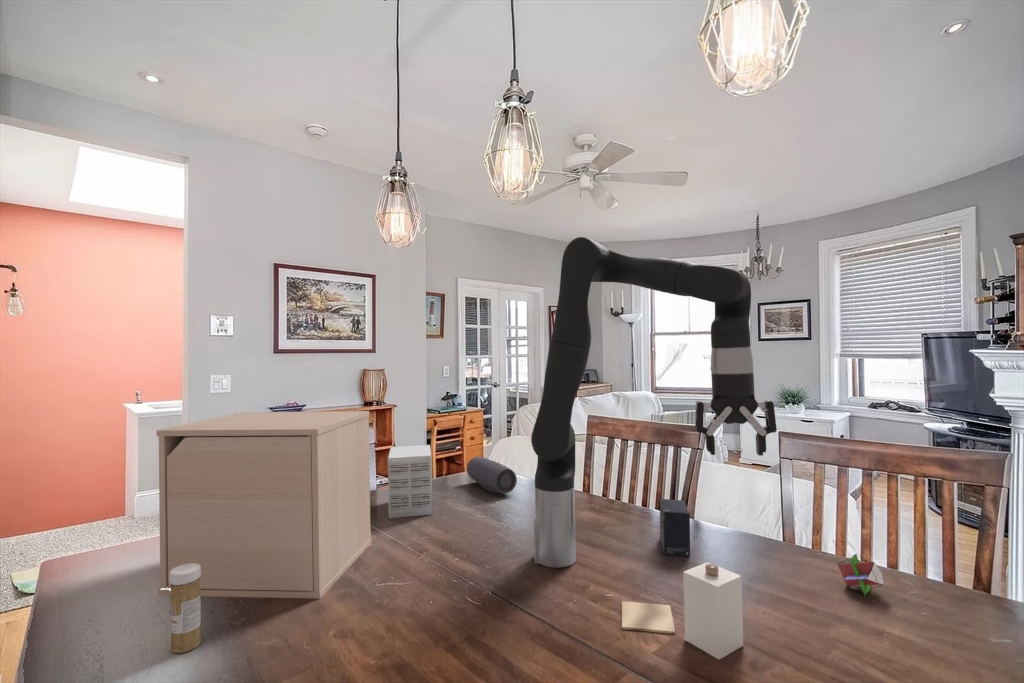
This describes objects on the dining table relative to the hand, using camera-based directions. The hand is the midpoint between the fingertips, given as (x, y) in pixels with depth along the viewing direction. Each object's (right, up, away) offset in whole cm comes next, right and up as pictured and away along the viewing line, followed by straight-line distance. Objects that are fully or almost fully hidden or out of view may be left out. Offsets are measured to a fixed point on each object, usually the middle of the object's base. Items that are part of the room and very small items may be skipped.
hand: (736, 454), depth 97 cm
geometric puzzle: (+27, -28, +3) cm, 39 cm away
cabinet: (-99, -31, +20) cm, 105 cm away
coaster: (-19, -29, -5) cm, 35 cm away
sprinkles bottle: (-99, -31, -11) cm, 105 cm away
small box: (-3, -29, +26) cm, 39 cm away
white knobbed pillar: (-10, -29, -13) cm, 33 cm away
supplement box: (-76, -31, +61) cm, 102 cm away
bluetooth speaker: (-51, -31, +80) cm, 100 cm away
